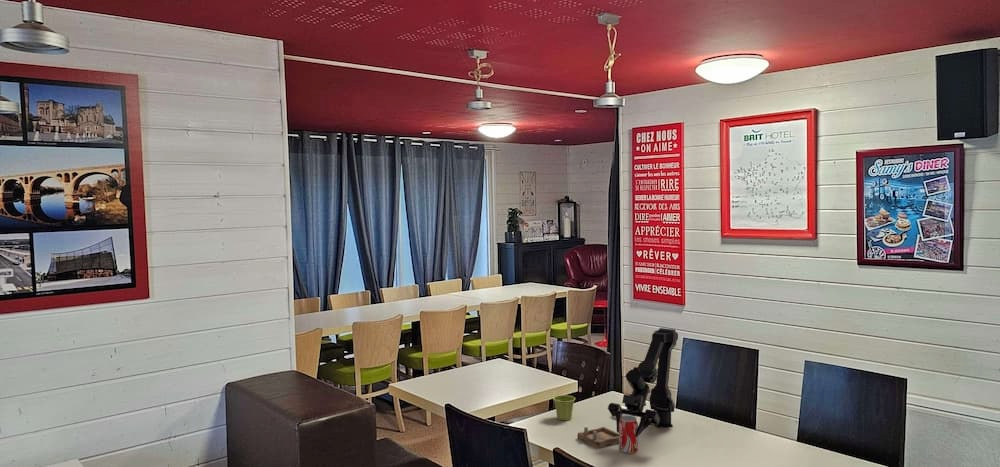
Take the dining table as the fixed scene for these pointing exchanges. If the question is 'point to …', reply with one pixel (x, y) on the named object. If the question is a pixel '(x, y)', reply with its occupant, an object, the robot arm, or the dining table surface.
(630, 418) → the soda can
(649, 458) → the dining table surface
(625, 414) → the coaster
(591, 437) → the caddy
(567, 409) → the plant pot
